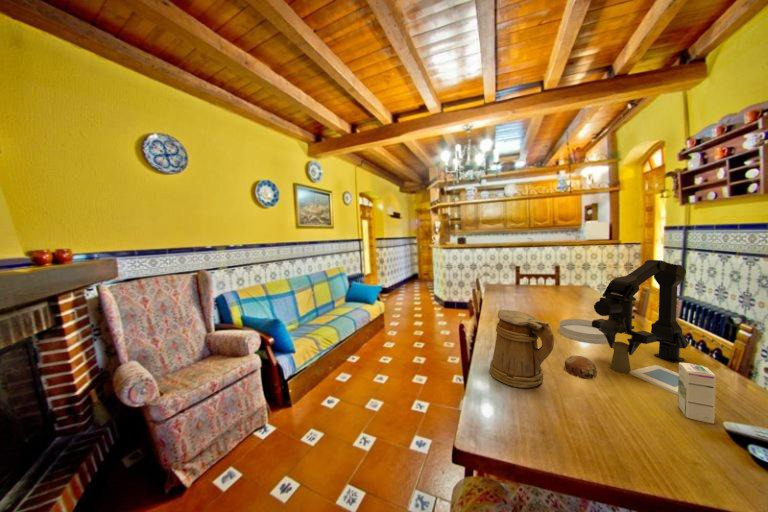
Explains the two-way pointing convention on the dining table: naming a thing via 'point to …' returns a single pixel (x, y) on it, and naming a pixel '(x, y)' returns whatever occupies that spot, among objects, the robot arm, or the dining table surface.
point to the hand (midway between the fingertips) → (620, 351)
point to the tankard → (520, 349)
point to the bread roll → (580, 366)
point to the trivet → (658, 377)
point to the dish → (581, 331)
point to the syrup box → (696, 392)
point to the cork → (620, 358)
